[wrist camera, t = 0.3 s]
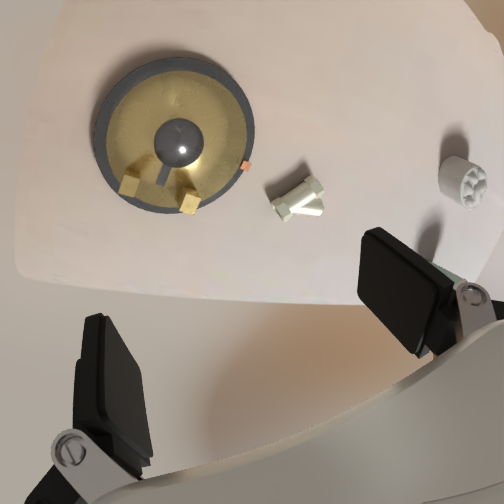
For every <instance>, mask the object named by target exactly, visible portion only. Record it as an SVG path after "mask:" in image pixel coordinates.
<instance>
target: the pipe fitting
mask: <svg viewBox="0 0 504 504" xmlns="http://www.w3.org/2000/svg"><path fill="white" fill-rule="evenodd" d="M323 195H324V190H323V187H322V186H321V184H320V182H319V181H318V180H317V179H316V178H315V177H314V176H311V175H310V176H308V177H307V178H305V179H304V182H303V183H301V184H300V185H298V186H297V187H295V188H294V189H293V190H291V191H290V192H288V193H287V194H285V195H284V196H282V197H281V198H279V197H277V198H276V199H275V200H273V201H272V202H271V204H272V206H273V208H274V210H275V211H276V213H277V214H278V216H279V217H280V218H281V219H282V220H283V221H284V222H286V221H287V220H289V219H290V218H291V217H292V215H302V216H310V217H318V216H320V215H321V213H322V211H323V210H324V206H323V203H322V200H321V199H320V197H322V196H323Z"/></svg>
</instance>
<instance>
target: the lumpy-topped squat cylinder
mask: <svg viewBox="0 0 504 504" xmlns="http://www.w3.org/2000/svg"><path fill="white" fill-rule="evenodd" d="M438 183H439V187H440V191H441V192H442V193H443V194H444V195H445V196H447V197H448V198H450V199H452V200H454V201H456V202H457V203H459V204H461V205H462V206H464V207H466V208H468V209H470V210H473V209H475V208H476V207H477V205H478V204H479V203H480V202H481V199H482V196H483V194H484V192H485V190H486V187H487V176H486V174H485V172H484V170H483V169H482V168H481V167H479V166H478V165H476V164H474V163H471V162H469V161H467V160H465V159H462V158H460V157H458V156H450V157H448V158H447V159H445V160H444V161H443V163H442V164H441V166H440V169H439V173H438Z"/></svg>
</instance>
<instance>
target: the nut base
mask: <svg viewBox="0 0 504 504" xmlns="http://www.w3.org/2000/svg"><path fill="white" fill-rule="evenodd" d="M171 71H190V72H196V73H200V74H203V75H206V76H208V77H210V78H212V79H214V80H216V81H218V82H219V83H221V84H222V85H223V86H224V87H226V88H227V89H228V90H229V91H230V92H231V94H232V95H233V96H234V97H235V99H236V100H237V102H238V104H239V105H240V107H241V110H242V112H243V115H244V118H245V122H246V129H247V141H246V148H245V152H244V156H243V158H242V161H241V163H240V165H239V167H238V169H237V171H236V173H235V174H234V175H233V177H232V178H231V179H230V181H229V182H228V183H227V184H226V185H225V186H224V187H223V188H222V189H221V190H219V191H218V192H217V193H215V194H214V195H212V196H211V197H209V198H207V199H205V200H203V201H201V202H199V205H198V207H197V209H198V208H201V207H203V206H205V205H207V204H209V203H211V202H213V201H215V200H216V199H217V198H219V197H220V196H222V195H223V194H224V193H225V192H226V191H228V190H229V189H230V188H231V187H232V186H233V184H234V183H235V182H236V181H237V180H238V178H239V177H240V175H241V174H242V172H243V171H244V170H245V171H248V170H249V168H250V166H251V163H250V162H249V158H250V156H251V152H252V148H253V143H254V134H255V126H254V118H253V113H252V109H251V106H250V104H249V101H248V99H247V97H246V95H245V94H244V92H243V90H242V89H241V88H240V86H239V85H238V84H237V82H236V81H235V80H234V79H233V78H231V77H230V76H229V75H228V74H227V73H225V72H224V71H223V70H221V69H220V68H218V67H216V66H214V65H212V64H210V63H207V62H204V61H201V60H197V59H192V58H180V57H177V58H166V59H162V60H157V61H154V62H151V63H148V64H146V65H143V66H141V67H140V68H138V69H136V70H134V71H133V72H131V73H130V74H128V75H127V76H126V77H124V78H123V79H122V80H121V81H120V82H119V83H118V84H117V85H116V86H115V87H114V88H113V90H112V91H111V92H110V93H109V95H108V97H107V98H106V100H105V101H104V103H103V105H102V107H101V110H100V112H99V114H98V118H97V121H96V125H95V132H94V149H95V156H96V159H97V163H98V166H99V168H100V171H101V173H102V175H103V177H104V178H105V180H106V182H107V183H108V184H109V186H110V187H111V188H112V189H113V190H114V191H115V192H116V193H117V194H118V195H119V196H120V197H121V198H123V199H124V200H126V201H127V202H128V203H130V204H132V205H134V206H136V207H138V208H141V209H144V210H146V211H151V212H155V213H164V214H174V213H183V212H181V211H179V208H178V207H172V208H169V207H160V206H155V205H151V204H149V203H146V202H143V201H141V200H140V199H138V198H136V197H135V196H134V198H133V197H130V196H126V195H123V194H119V193H118V192H119V187H120V183H119V181H118V180H117V178H116V177H115V175H114V174H113V171H112V169H111V167H110V164H109V161H108V157H107V150H106V137H107V130H108V126H109V123H110V119H111V117H112V115H113V113H114V111H115V109H116V107H117V106H118V104H119V103H120V101H121V100H122V99H123V98H124V96H125V95H126V94H127V93H128V92H129V91H130V90H131V89H133V88H134V87H135V86H137V85H138V84H139V83H141V82H142V81H144V80H146V79H148V78H150V77H152V76H155V75H158V74H161V73H166V72H171Z"/></svg>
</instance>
